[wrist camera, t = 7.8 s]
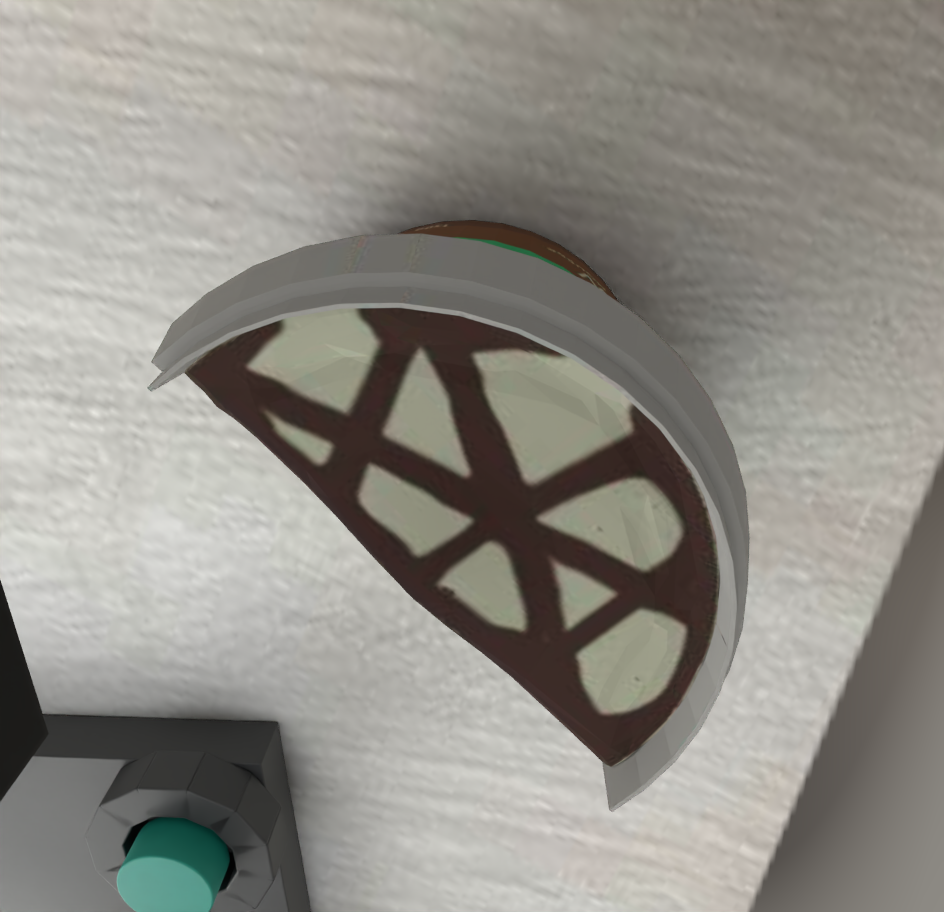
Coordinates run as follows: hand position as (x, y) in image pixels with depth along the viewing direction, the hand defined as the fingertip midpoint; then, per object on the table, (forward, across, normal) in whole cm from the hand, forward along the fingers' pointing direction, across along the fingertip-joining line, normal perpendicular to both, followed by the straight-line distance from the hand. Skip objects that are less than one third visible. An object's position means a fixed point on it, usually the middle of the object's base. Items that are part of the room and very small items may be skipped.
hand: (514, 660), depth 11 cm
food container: (+14, 0, 0) cm, 14 cm away
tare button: (+10, -11, -16) cm, 22 cm away
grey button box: (+14, -17, -20) cm, 29 cm away
